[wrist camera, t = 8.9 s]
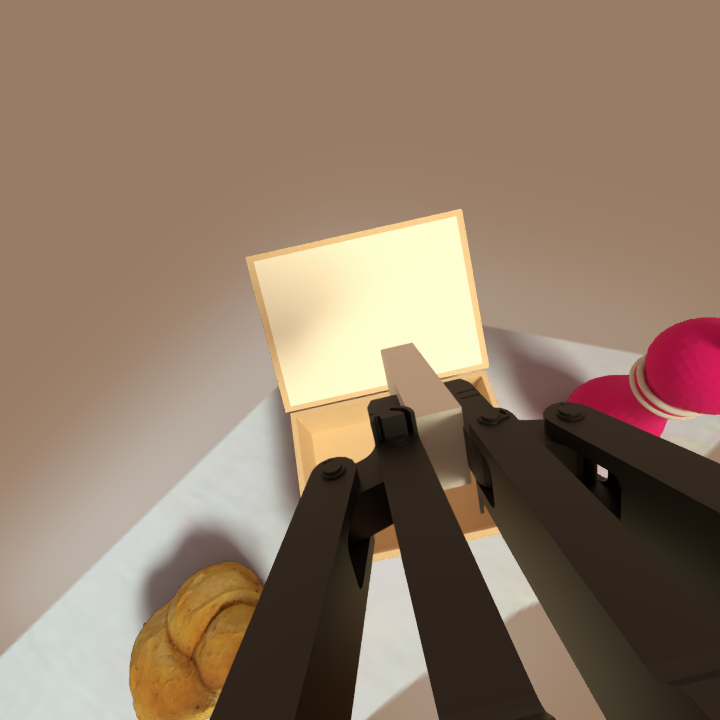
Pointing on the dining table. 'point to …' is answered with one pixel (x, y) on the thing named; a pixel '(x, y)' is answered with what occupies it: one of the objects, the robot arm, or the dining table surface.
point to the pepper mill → (663, 379)
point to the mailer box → (355, 441)
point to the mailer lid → (368, 307)
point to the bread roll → (192, 644)
